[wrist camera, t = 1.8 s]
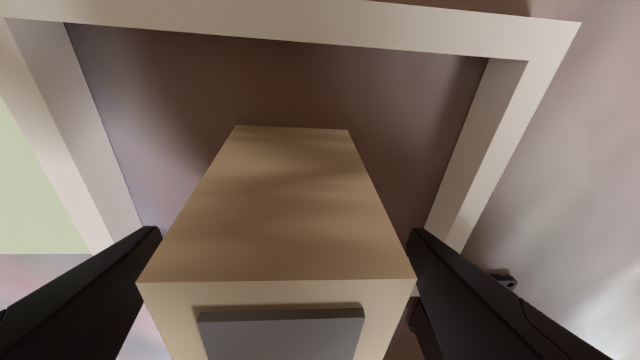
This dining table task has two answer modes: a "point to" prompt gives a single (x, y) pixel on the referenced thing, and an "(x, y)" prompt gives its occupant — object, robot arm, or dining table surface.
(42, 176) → the sage pad
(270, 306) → the birch parts box
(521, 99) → the white rectangular frame
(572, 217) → the dining table surface
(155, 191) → the dining table surface
